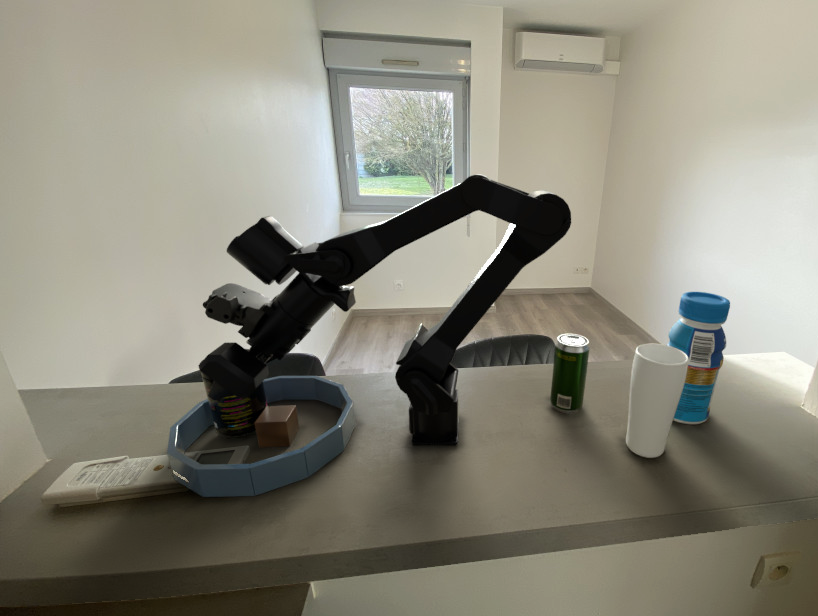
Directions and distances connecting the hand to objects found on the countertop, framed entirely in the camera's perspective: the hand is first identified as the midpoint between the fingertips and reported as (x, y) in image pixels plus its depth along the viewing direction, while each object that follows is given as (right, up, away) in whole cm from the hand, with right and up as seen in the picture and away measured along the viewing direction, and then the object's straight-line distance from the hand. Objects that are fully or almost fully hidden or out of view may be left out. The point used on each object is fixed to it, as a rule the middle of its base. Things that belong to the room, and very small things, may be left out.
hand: (227, 384), depth 56 cm
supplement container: (+1, -6, +2) cm, 7 cm away
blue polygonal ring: (+5, -8, +1) cm, 10 cm away
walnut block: (+6, -8, +2) cm, 10 cm away
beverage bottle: (+68, -7, +12) cm, 69 cm away
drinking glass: (+58, -10, +3) cm, 59 cm away
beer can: (+49, -6, +12) cm, 51 cm away
